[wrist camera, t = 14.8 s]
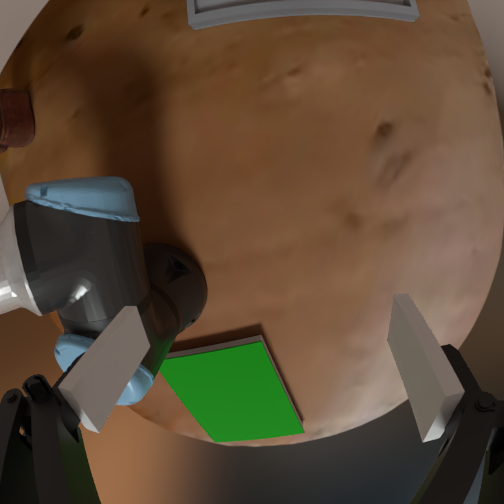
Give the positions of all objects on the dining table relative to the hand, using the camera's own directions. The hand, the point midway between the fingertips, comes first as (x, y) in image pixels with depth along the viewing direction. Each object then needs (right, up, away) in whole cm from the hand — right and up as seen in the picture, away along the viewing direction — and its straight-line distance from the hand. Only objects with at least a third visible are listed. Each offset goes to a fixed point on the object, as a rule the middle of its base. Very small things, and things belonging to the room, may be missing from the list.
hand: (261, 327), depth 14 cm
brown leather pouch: (-44, +29, +25) cm, 58 cm away
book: (-4, -25, +42) cm, 50 cm away
